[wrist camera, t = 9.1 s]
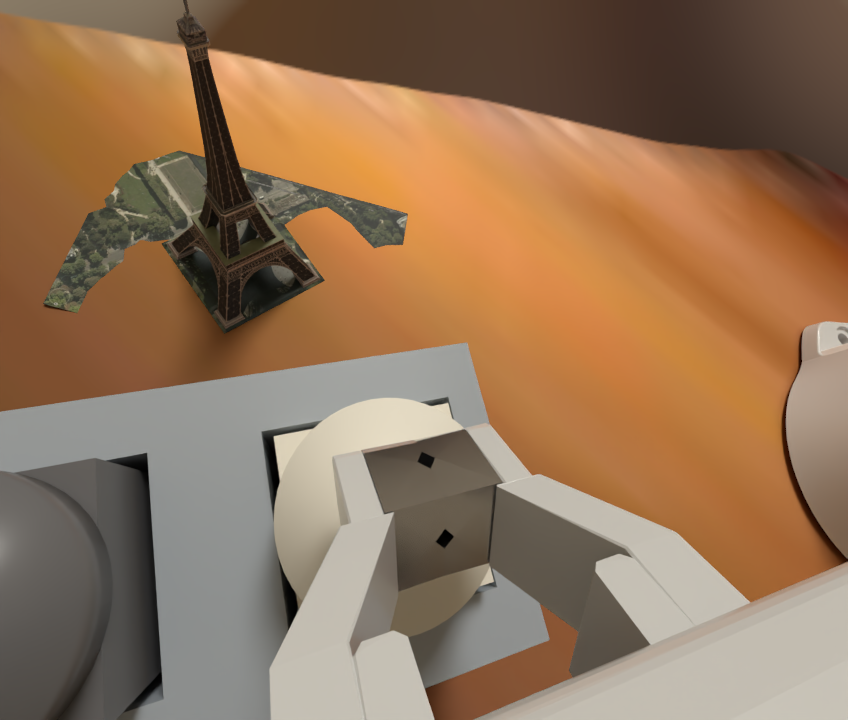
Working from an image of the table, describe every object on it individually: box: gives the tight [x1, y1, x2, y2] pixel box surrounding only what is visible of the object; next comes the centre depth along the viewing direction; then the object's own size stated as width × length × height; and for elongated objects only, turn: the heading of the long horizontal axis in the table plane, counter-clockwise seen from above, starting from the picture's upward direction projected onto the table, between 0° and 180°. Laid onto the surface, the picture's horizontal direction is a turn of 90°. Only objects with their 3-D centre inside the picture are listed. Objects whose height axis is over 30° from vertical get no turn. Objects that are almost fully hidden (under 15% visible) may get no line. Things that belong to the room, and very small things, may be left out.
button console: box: [0, 343, 550, 720], centre depth 13 cm, size 22×8×9 cm, turn 103°
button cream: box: [274, 398, 494, 637], centre depth 13 cm, size 5×5×8 cm
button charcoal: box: [0, 458, 162, 720], centre depth 9 cm, size 5×5×8 cm
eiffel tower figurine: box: [43, 0, 408, 334], centre depth 17 cm, size 15×10×13 cm
